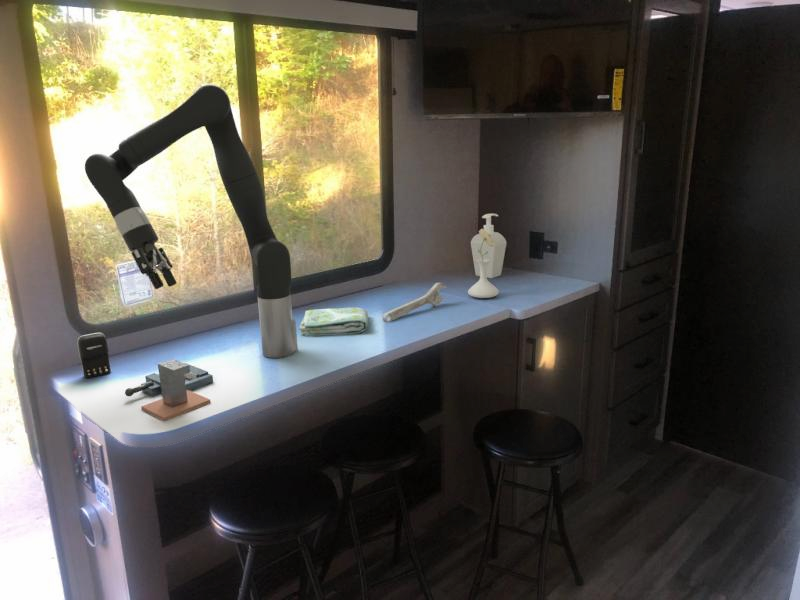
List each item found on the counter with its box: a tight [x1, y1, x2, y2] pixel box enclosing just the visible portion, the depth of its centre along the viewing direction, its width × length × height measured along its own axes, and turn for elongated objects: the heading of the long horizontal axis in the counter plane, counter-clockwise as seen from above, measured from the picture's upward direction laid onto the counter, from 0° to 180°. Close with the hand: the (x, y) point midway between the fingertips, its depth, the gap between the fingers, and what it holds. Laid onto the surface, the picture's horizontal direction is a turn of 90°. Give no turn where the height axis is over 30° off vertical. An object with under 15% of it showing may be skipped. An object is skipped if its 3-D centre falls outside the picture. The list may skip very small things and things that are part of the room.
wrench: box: [382, 282, 447, 323], centre depth 216 cm, size 8×2×30 cm
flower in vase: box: [467, 228, 500, 299], centre depth 231 cm, size 13×11×25 cm
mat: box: [140, 390, 211, 422], centre depth 148 cm, size 12×10×1 cm
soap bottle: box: [470, 213, 507, 279], centre depth 263 cm, size 12×10×26 cm
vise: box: [124, 362, 214, 397], centre depth 158 cm, size 20×13×3 cm, turn 140°
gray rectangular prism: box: [157, 358, 190, 408], centre depth 146 cm, size 4×7×10 cm, turn 50°
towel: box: [298, 306, 369, 337], centre depth 204 cm, size 18×21×5 cm
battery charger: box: [76, 332, 112, 379], centre depth 168 cm, size 7×4×11 cm, turn 124°
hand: (166, 286), depth 160 cm, fingers open, 8 cm apart
